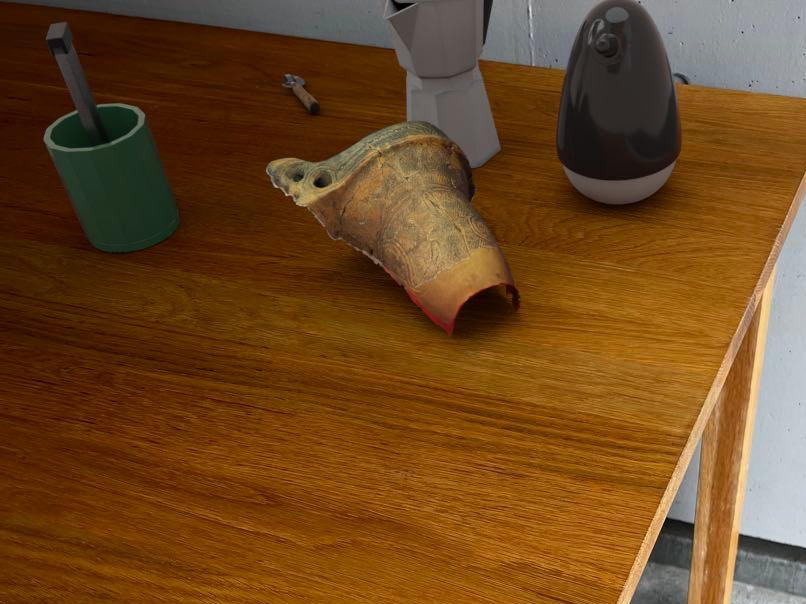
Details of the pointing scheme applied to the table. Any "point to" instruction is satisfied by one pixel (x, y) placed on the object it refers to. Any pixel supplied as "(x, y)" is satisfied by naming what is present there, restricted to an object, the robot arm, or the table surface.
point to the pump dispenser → (618, 106)
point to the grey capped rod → (77, 82)
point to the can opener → (301, 92)
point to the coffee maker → (446, 69)
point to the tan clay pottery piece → (405, 214)
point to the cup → (115, 179)
